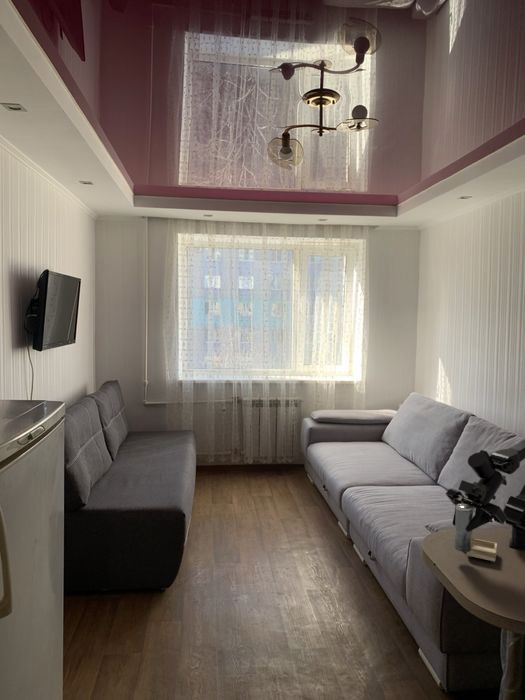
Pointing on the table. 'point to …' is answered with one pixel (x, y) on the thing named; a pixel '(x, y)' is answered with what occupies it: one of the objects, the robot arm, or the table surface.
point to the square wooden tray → (483, 550)
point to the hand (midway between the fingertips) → (460, 527)
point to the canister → (463, 527)
